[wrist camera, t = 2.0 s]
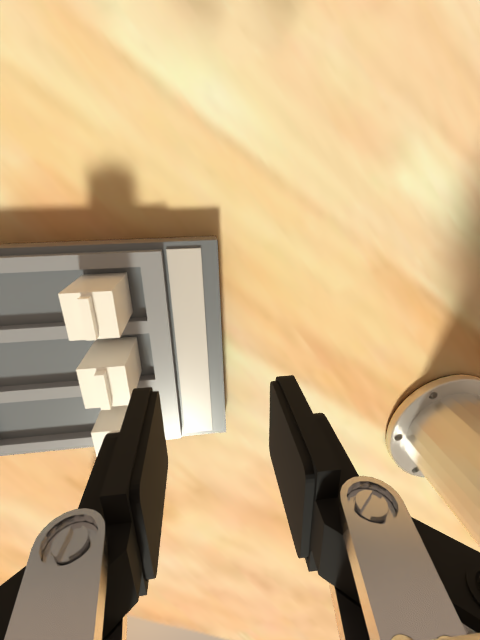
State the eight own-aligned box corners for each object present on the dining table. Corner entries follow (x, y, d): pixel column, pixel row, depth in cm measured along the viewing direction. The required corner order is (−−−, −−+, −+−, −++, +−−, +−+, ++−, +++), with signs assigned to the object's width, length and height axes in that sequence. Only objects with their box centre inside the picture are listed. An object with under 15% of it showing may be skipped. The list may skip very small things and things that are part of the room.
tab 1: (126, 272, 24) (109, 294, 19) (132, 312, 25) (117, 341, 20) (82, 274, 23) (53, 297, 19) (90, 314, 24) (65, 345, 20)
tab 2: (136, 336, 25) (122, 370, 21) (141, 370, 27) (129, 410, 22) (95, 339, 25) (72, 374, 20) (102, 373, 26) (82, 414, 22)
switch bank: (215, 235, 25) (218, 241, 23) (224, 417, 32) (226, 438, 29) (-133, 248, 23) (-174, 257, 20) (-48, 443, 29) (-71, 467, 27)
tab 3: (144, 391, 27) (134, 434, 23) (149, 421, 28) (140, 468, 24) (107, 394, 27) (88, 438, 22) (113, 424, 28) (96, 472, 24)
